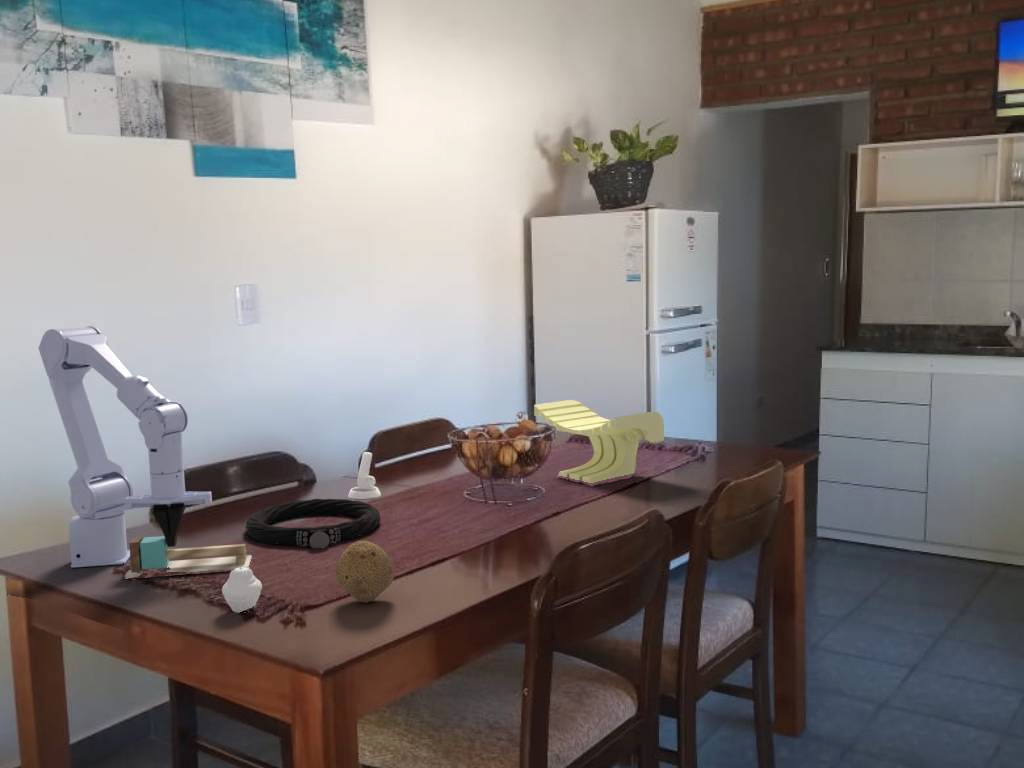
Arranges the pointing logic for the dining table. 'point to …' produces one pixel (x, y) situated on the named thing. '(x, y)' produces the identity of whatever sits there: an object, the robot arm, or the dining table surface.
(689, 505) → the dining table surface
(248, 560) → the rail
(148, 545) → the slider
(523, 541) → the dining table surface
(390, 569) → the natural sponge
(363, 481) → the white joystick
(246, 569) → the white faceted lump
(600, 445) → the slatted curved stool
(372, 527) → the cable lock
